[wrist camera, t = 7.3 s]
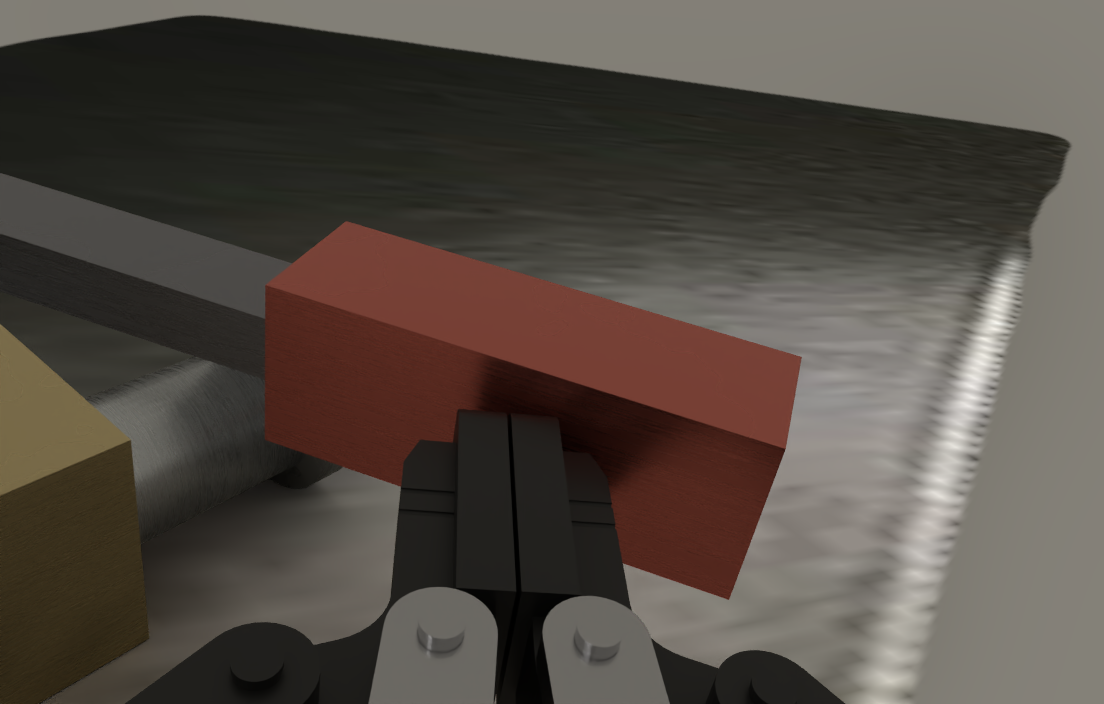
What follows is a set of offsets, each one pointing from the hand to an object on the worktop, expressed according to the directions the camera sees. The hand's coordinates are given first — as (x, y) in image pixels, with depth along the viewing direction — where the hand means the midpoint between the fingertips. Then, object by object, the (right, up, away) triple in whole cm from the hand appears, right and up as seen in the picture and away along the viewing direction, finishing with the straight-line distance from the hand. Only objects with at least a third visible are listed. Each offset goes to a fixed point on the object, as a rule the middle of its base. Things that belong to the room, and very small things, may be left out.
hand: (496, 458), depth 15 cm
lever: (-5, +1, +3) cm, 6 cm away
